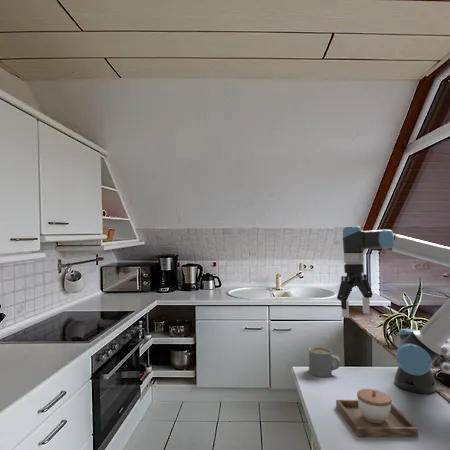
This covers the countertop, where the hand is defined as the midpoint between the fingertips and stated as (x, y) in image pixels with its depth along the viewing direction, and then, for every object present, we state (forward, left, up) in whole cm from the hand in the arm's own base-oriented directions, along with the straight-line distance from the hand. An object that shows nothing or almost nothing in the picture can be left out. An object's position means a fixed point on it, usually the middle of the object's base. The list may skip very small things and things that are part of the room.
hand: (356, 315), depth 147 cm
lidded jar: (+5, +26, -29) cm, 39 cm away
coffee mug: (+9, -14, -30) cm, 34 cm away
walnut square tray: (+5, +26, -29) cm, 40 cm away
